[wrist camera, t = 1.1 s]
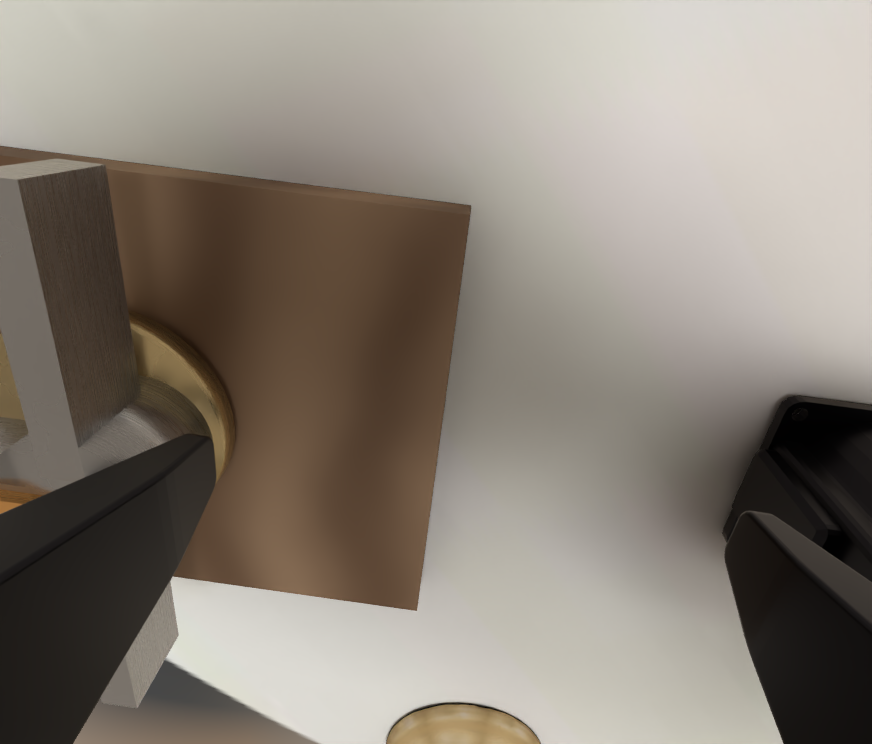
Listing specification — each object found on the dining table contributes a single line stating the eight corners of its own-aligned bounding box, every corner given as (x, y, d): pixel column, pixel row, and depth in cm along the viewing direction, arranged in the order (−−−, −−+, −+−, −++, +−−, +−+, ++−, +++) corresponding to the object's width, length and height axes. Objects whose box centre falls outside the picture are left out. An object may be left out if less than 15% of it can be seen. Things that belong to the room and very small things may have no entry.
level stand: (471, 205, 17) (469, 225, 14) (420, 582, 24) (412, 643, 21) (-44, 140, 17) (-143, 148, 14) (60, 531, 24) (8, 585, 21)
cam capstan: (216, 166, 15) (99, 194, 10) (246, 601, 23) (186, 728, 18) (-176, 116, 15) (-461, 123, 11) (-14, 564, 23) (-138, 680, 18)
